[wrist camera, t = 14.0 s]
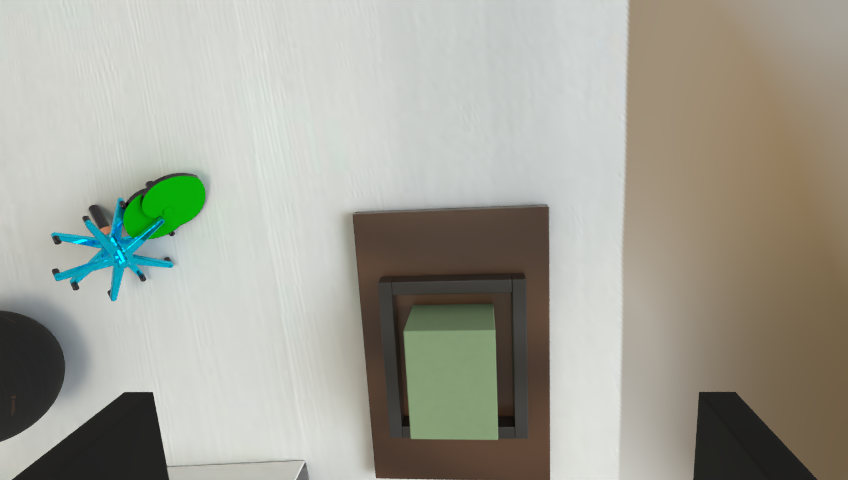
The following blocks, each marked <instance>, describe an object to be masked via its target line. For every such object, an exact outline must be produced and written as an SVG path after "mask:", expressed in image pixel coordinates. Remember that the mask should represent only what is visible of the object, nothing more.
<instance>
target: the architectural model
mask: <svg viewBox="0 0 848 480" xmlns="http://www.w3.org/2000/svg"><path fill="white" fill-rule="evenodd" d="M304 463H305V462H304V461H286V462H264V463H243V464H222V465H200V466H179V467H167V470H168V476H169V480H309V478H308V473H307V467H306V464H304Z"/></svg>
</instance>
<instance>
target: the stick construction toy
mask: <svg viewBox="0 0 848 480" xmlns="http://www.w3.org/2000/svg"><path fill="white" fill-rule="evenodd" d="M146 187H147V188H145V189H143V190H140V191H138V192H137V193H135V194H134V195H133V196H131V197H130V198H129V200H128V201H127V202H126V203H125V201H124V199H123V198H119V199H118V200H117V204H116V209H115V213H114V217H113V222H112V226H110V225H109V223H108V221H107V220H106V218H105V216H104V214H103V212H102V210H101V209H100V207H99V206H98V205H92V206H90V207H89V212H90V214H91V216H92V218H93V220H94V222H95V223H96V225H97V227H96V226H95V225H94V224H93V223H92V222H91V220H90V218H89V216H84V217H83V218H82V219H83V221H84V223H85V225H86V227H87V228H88V229H89V230H90V232H91V233H92V234H93V235H94V236H95V237H88V236H80V235H72V234H64V233H56V232H54V233H52V234H51V236H52V239H53V241H54V243H55V244H56V245H58V244H60V243H61V241H65V242H70V243H75V244H80V245H86V246H91V247H96V248H101V250H100V251H99V252H98V253H97V254H96V255H95V256H94V257H93V258H92V259H91V260H90V261H89V262H88V263H87V264H84V265H81V266H78V267H75V268H72V269H70V270H67V271H64V272H61V273H60V272H59V270H58V269H53V270H52V273H53V275H54V278H55V280H56V281H60V280H63V279H67V278H70V277H73V278H72V279H71V280H70V284H71V286H72V288H73V290H78V289H79V286H78V284H77V283H78V282H80V281H81V280H82V279H83V278H84V277H85V276H87V275H88V274H89V273H90V272H92V271H95V270H99V269H102V268H106V267H109V266H113V271H112V281H111V290H109V291H108V292H107V293H108V295H109V297H110V299H111V301H115V300H116V299H117V296H118V292H119V288H120V284H121V280H122V276H123V272H124V268H126V267H129V268H130V269H131V270H132V271H133V272H134V273H136V274H137V275H138V276H139V278H140V280H141V281H142V282H143V281H145V280H146V277H145V276H144V274H143V272H142V271H141V269H140V268H139V267H138V266H137V265H145V266H156V267H168V268H172V267H173V263H172V261H171V260H170V258H169V257H166V258H165V259H164V260H160V259H155V258H149V257H144V256H139V255H134V254H133V253H134V252H135V251H136V250H137V249H138V248H139V247H140V246H141V245H142V244H143V243H144V242H145V241H146V240H147V239H154V238H158V237H161V236H164V235H166V234H169V235H170V236H173V235H174V234H175V233H174V230H175V229H176V228H178V227H179V226H180V225H182V224H184V223H187V222H188V221H190V220H192V219H193V218H194V217H195V216H196V215H197V214H198V213H199V212H200V210H201V209H202V207H203V205H204V202H205V189H204V186H203V184H202V182H201V181H200V179H199V178H198V177H197V175H194V174H189V173H176V174H170V175H167V176H164V177H161V178H159V179H157V180H156V181H154V182H153V181H148V182H147V183H146ZM122 224H123V226H124V228H125V230H126V231H127V233H128V234H129V235H130V236H126V237H121V233H122Z"/></svg>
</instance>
